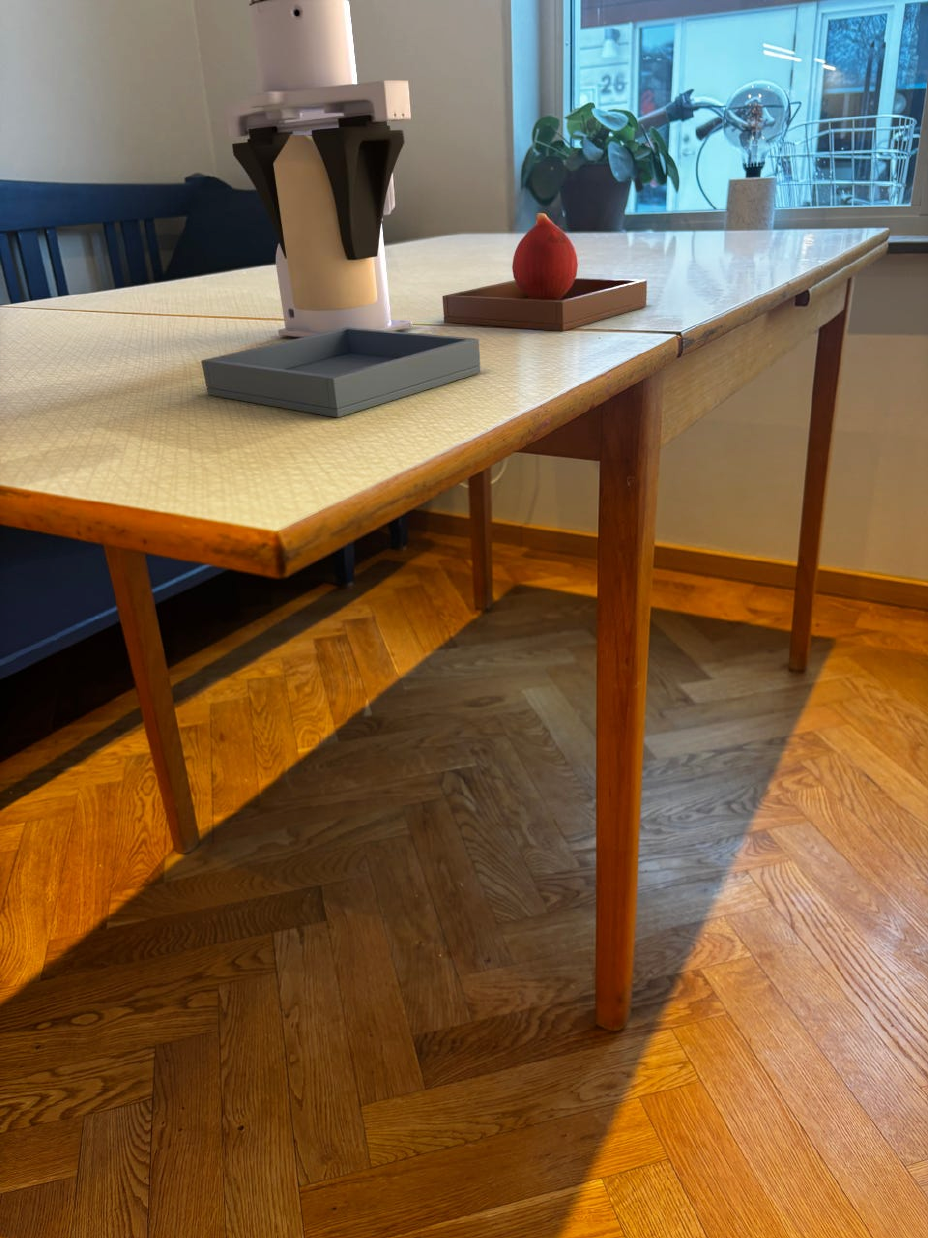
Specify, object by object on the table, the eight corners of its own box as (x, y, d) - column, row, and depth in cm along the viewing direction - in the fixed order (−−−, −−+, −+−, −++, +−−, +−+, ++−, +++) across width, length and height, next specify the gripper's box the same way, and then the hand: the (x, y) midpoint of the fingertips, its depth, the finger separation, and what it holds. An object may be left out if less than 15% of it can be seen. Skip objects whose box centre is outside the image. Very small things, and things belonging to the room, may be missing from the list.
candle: (309, 314, 57) (285, 132, 52) (283, 305, 61) (258, 137, 57) (391, 303, 59) (374, 127, 54) (359, 295, 63) (341, 132, 59)
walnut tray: (443, 322, 83) (441, 295, 82) (531, 300, 92) (530, 276, 91) (562, 331, 75) (562, 301, 74) (646, 306, 84) (647, 279, 83)
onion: (577, 302, 85) (577, 208, 82) (578, 311, 80) (578, 212, 77) (515, 305, 86) (512, 212, 82) (512, 315, 81) (508, 216, 77)
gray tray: (207, 394, 62) (200, 360, 61) (350, 357, 71) (346, 326, 70) (337, 417, 54) (333, 378, 53) (481, 372, 63) (479, 338, 62)
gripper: (168, 19, 54) (211, 263, 60) (331, -23, 45) (362, 267, 52) (263, 25, 59) (294, 251, 65) (427, -13, 50) (445, 252, 56)
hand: (329, 257), depth 59 cm, fingers closed on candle, 5 cm apart
